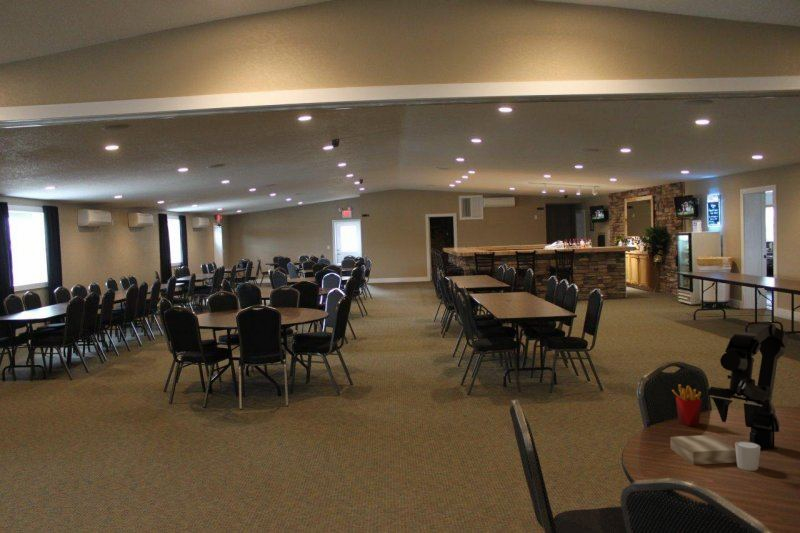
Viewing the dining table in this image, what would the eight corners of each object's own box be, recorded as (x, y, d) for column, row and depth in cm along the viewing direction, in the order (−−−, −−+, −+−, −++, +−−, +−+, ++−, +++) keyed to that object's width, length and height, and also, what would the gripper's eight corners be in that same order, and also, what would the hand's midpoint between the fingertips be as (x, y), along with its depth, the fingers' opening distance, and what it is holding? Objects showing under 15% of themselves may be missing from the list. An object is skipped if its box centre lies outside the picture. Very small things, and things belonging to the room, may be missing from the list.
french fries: (689, 420, 233) (689, 381, 233) (705, 426, 225) (705, 387, 225) (670, 422, 231) (670, 384, 230) (685, 429, 223) (685, 389, 222)
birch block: (710, 448, 205) (710, 435, 205) (736, 463, 191) (736, 449, 191) (670, 450, 204) (670, 436, 204) (693, 465, 190) (693, 451, 190)
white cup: (763, 472, 183) (764, 449, 183) (739, 470, 184) (739, 448, 184) (755, 463, 190) (755, 441, 189) (731, 462, 191) (731, 440, 191)
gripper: (738, 371, 180) (732, 424, 178) (787, 381, 185) (782, 433, 183) (709, 368, 191) (703, 418, 189) (756, 378, 195) (751, 426, 193)
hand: (735, 424), depth 188 cm, fingers open, 9 cm apart
